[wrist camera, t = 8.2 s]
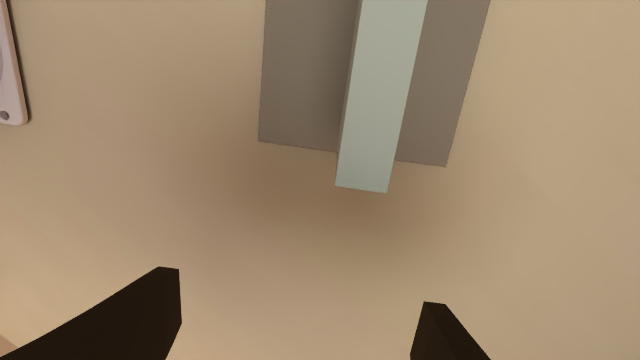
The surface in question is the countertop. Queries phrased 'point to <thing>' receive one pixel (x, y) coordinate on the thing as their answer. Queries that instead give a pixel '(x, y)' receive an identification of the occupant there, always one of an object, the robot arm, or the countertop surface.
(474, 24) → the rubber mat
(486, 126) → the countertop surface
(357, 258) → the countertop surface
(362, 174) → the grey square slab
